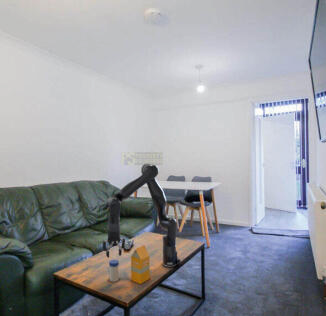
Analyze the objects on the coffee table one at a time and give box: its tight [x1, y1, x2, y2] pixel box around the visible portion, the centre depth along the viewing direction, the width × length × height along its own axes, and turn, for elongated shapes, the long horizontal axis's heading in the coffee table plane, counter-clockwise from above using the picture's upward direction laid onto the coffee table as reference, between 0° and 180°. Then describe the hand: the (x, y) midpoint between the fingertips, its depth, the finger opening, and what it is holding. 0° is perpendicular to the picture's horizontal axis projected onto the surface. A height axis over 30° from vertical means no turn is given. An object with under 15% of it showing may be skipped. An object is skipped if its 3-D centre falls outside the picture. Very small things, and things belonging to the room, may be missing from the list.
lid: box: [108, 259, 120, 267], centre depth 152 cm, size 6×6×2 cm
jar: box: [109, 265, 119, 283], centre depth 152 cm, size 5×5×11 cm
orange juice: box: [130, 244, 150, 285], centre depth 152 cm, size 8×9×20 cm
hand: (114, 256), depth 151 cm, fingers open, 7 cm apart
